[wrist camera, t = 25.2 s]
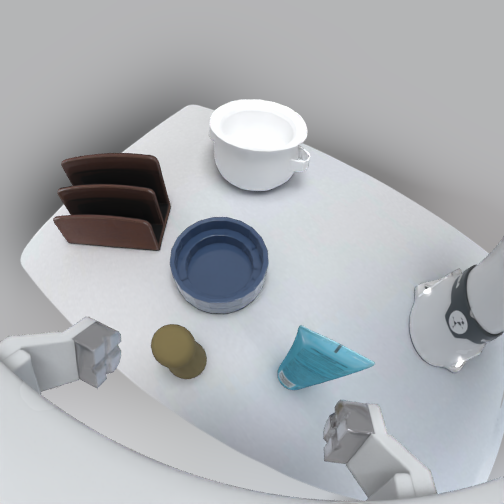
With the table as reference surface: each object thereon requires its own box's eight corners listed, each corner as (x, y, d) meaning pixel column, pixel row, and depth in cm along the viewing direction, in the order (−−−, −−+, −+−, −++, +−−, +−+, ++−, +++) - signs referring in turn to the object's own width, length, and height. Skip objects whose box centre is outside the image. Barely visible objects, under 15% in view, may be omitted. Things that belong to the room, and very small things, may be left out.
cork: (159, 348, 39) (137, 328, 29) (196, 333, 41) (184, 309, 31) (175, 385, 36) (155, 378, 27) (213, 369, 38) (206, 357, 29)
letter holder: (85, 203, 52) (59, 154, 40) (171, 206, 52) (158, 149, 40) (68, 243, 47) (34, 197, 34) (160, 251, 47) (139, 197, 35)
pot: (186, 174, 57) (180, 126, 46) (231, 132, 65) (232, 89, 54) (282, 218, 52) (294, 170, 42) (316, 166, 60) (329, 122, 50)
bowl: (247, 225, 51) (248, 208, 47) (278, 298, 44) (283, 285, 40) (168, 247, 48) (162, 230, 43) (188, 325, 41) (183, 315, 37)
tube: (322, 368, 39) (383, 337, 22) (309, 397, 36) (367, 388, 20) (276, 349, 40) (308, 305, 24) (263, 378, 38) (286, 357, 21)
